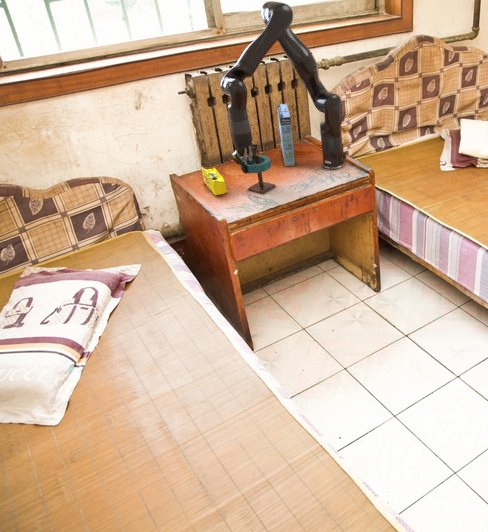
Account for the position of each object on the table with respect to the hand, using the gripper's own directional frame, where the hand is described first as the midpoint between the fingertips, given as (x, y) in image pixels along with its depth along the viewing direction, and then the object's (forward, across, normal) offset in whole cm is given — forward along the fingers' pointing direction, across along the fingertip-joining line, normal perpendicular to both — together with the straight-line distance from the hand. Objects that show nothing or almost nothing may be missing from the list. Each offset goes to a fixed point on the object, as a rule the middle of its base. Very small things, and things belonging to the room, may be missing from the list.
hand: (247, 171), depth 220 cm
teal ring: (0, +5, 0) cm, 5 cm away
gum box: (+10, +38, +10) cm, 41 cm away
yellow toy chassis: (+10, -3, +18) cm, 21 cm away
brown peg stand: (+10, +6, 0) cm, 12 cm away
